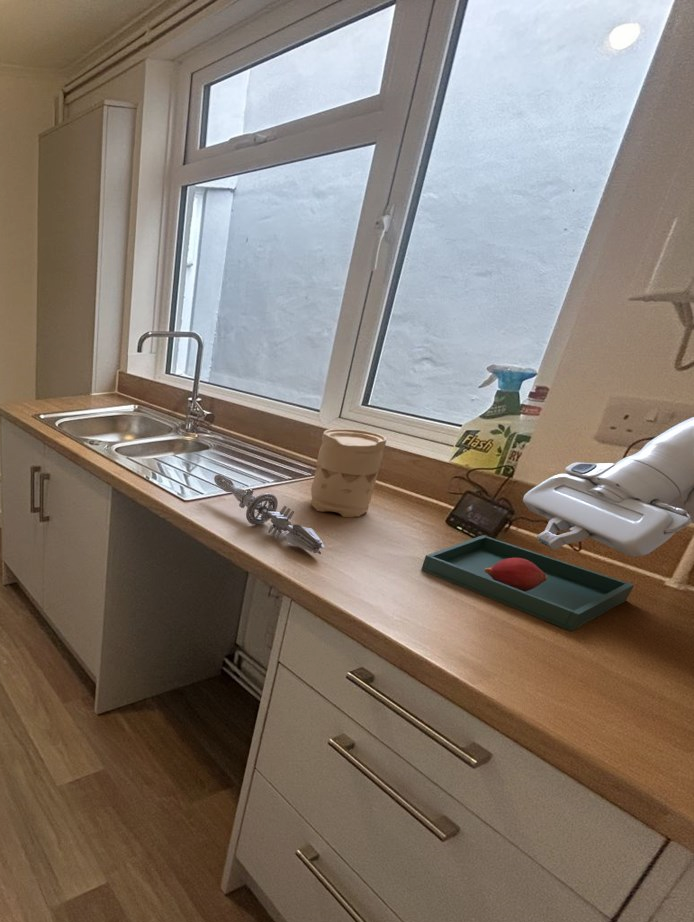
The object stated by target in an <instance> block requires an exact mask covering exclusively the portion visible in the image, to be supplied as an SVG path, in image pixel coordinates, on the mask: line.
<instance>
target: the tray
mask: <svg viewBox="0 0 694 922" xmlns="http://www.w3.org/2000/svg"><path fill="white" fill-rule="evenodd" d="M507 558H522V559H526V560H528V561H530V562H532V563H534V564H535V565H536V566H537V567H538V568H539V569H540V570H541V571H543V572H544V573H545V574H546V575H547V580H546V581H544V582H542V583H541V584H540V585H538V586H537V587H535V588H533V589H531V590H528V591H522V590H519V589H517V588H514V587H511V586H509V585H506V584H503V583H501V582H498V581H496V580H493V578H492V577H491V576H490V575H489V574H488V573H486V572H485V570H484V569H485V568H491V567H493V566H494V565H495V564H496V563H498V562H499V561H501V560H504V559H507ZM421 571H423V572H426V573H427V574H429V575H432V576H435V577H438V578H440V579H443V580H445V581H447V582H449V583H453V584H454V585H458V586H460V587H462V588H463V589H464V588H465V589H467V590H469V591H472V592H474V593H477V594H478V595H482V596H484V597H487V598H488V599H491V600H493V601H495V602H498V603H501V604H503V605H506V606H508V607H511V608H513V609H515V610H518V611H521V612H523V613H526V614H528V615H530V616H533V617H535V618H538V619H540V620H543V621H545V622H547V623H549V624H551V625H555V626H557V627H559V628H562V629H564V630H567V631H569V632H572V631H574V630H576V629H577V628H579V627H581V626H584V625H585V624H587V623H588V622H590V621H592V620H594V619H595V618H598V617H599V616H602V615H603V614H605V613H606V612H609V611H610V610H612V609H614V608H616V607H617V606H619V605H621V604H623V603H624V602H627V600H628V597H629V596H630V594H631V592H632V590H633V588H634V587H635V584H633V583H630V582H627V581H624V580H621V579H618V578H615V577H612V576H609V575H606V574H603V573H600V572H597V571H595V570H590V569H588V568H584V567H582V566H578V565H576V564H572V563H569V562H566V561H563V560H560V559H558V558H554V557H552V556H548V555H546V554H542V553H539V552H537V551H533V550H531V549H526V548H524V547H521V546H518V545H515V544H511V543H509V542H505V541H502V540H500V539H496V538H493V537H490V536H487V535H484V534H483V535H479V536H476V537H474V538H470V539H468V540H465V541H463V542H460V543H457V544H454V545H451V546H449V547H445V548H442V549H440V550H437V551H434V552H431V553H429V554H426V555H425V557H424V560H423V563H422V566H421Z"/></svg>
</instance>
